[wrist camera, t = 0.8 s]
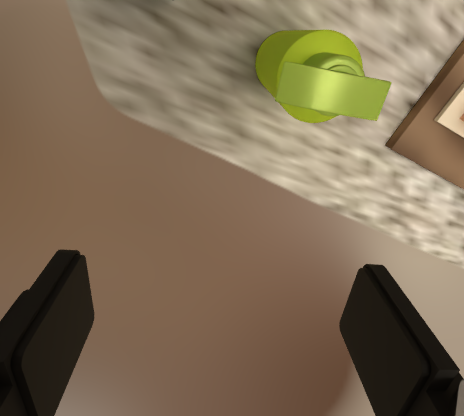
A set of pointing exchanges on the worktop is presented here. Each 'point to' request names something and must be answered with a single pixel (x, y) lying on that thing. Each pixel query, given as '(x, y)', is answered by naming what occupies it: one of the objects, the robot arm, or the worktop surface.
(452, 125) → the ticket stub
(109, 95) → the worktop surface
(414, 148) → the ticket board
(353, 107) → the soap dispenser
